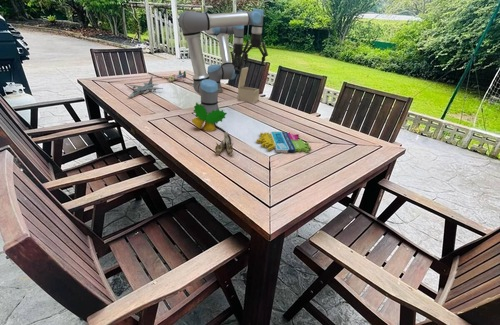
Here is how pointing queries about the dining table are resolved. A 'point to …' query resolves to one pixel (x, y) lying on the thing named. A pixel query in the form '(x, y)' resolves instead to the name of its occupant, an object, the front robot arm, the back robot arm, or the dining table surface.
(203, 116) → the ornament
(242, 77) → the lid
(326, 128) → the dining table surface
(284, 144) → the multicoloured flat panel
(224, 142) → the jawbone
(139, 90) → the airplane
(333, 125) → the dining table surface
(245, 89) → the chest
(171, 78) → the toy
